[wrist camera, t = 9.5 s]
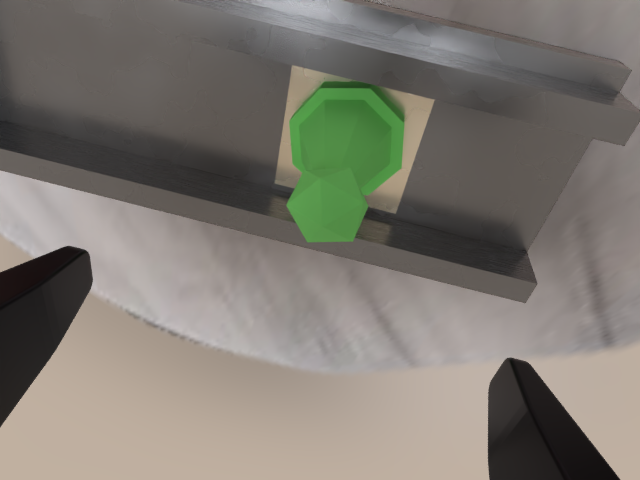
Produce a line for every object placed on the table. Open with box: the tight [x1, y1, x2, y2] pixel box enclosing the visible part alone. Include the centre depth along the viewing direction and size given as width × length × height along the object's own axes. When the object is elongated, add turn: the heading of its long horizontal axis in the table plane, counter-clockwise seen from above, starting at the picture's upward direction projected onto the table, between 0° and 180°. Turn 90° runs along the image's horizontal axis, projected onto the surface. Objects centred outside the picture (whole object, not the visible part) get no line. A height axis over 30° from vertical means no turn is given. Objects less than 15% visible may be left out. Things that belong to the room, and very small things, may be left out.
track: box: [0, 0, 640, 303], centre depth 17 cm, size 24×9×3 cm, turn 79°
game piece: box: [286, 81, 405, 242], centre depth 15 cm, size 4×4×6 cm
